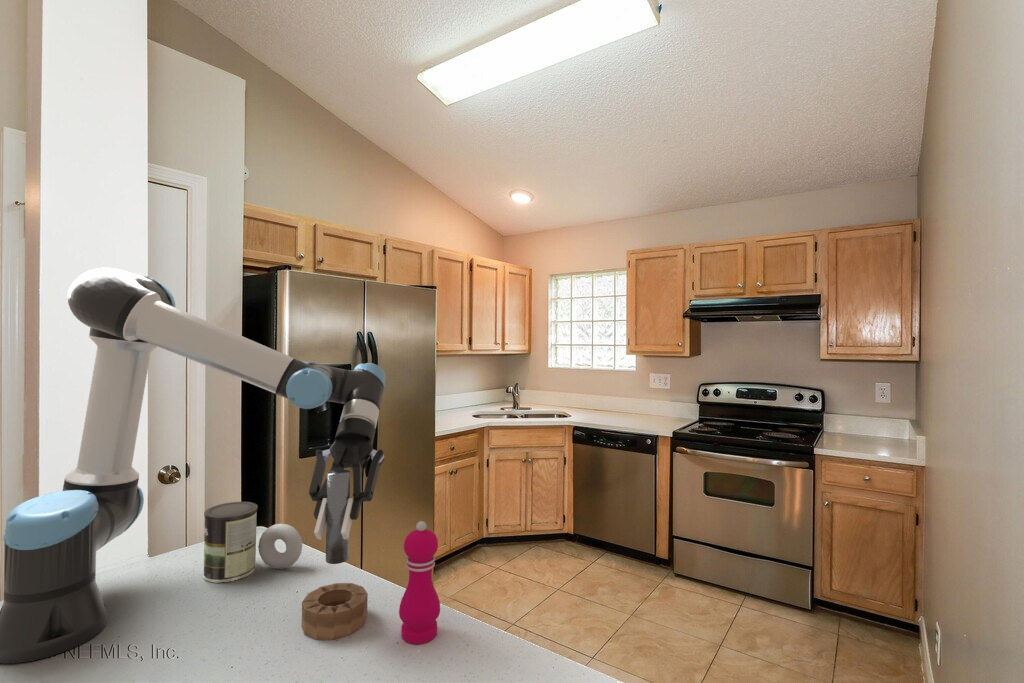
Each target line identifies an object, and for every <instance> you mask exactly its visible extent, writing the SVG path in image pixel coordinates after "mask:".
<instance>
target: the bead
mask: <svg viewBox="0 0 1024 683" xmlns="http://www.w3.org/2000/svg"><path fill="white" fill-rule="evenodd" d="M368 597H369V596H368V592H367V590H366V589H365V587H364V586H362V585H359V584H355V583H353V582H334V583H332V584H326V585H321V586H319V587H318V588H316V589H314V590H312V591H310V592H308V593H307V594H306V596H305V597H304V598H303V599H302V601H301V629H302V632H303V634H304V636H307V637H308V638H311V639H313V640H316V641H317V640H318V641H319V640H321V641H323V640H333V641H334V640H337V639H341V638H345V637H347V636H351V635H353V634H354V633H355V632H357V631H359V630H360V629H362V628H363V627H364V626H365V623H366V622H367V621H366V620H367V619H368Z"/></svg>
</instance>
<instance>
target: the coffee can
mask: <svg viewBox="0 0 1024 683" xmlns="http://www.w3.org/2000/svg"><path fill="white" fill-rule="evenodd" d="M258 508H259V506H258V504H256V503H254V502H251V501H232V502H225V503H221V504H217V505H214V506H211V507H209V508H207V509H206V510H205V511H204V513H203V514H204V535H203V536H204V538H203V539H204V544H203V575H202V577H203V578H202V579H203V580H204V581H206V582H208V583H212V582H213V583H212V584H222V582H225V583H230V582H229V581H231V582H235V581H234V580H236V581H239V580H242V579H245V578H247V577H248V576H250V575H251V574H253V573H254V572H255V570H256V567H257V565H256V554H257V552H256V551H257V550H256V548H257V512H258ZM241 578H242V579H241ZM238 579H239V580H238Z"/></svg>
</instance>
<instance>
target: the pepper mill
mask: <svg viewBox="0 0 1024 683" xmlns="http://www.w3.org/2000/svg"><path fill="white" fill-rule="evenodd" d="M438 548H439V540H438V537H437V535H436V534H435V532H434V531H432V530H430V529H428V528H427V523H426V522H425V521H423V520H420V521H419V522H417V523H416V528H415V529H414V530H412V531H410V532H409V533H408V534H407V535H406V536H405V539H404V542H403V550H404V553H405V555H406V556H407V558H406V560H405V561H406V564H405V567H406V569H407V570H408V573H409V575H408V583H407V586H406V588H405V590H404V593H403V596H402V597H401V598H400V599H401V600H400V603H399V609H398V616H399V619H400V620H401V621H402V624H401V627H400V628H401V632H400V633H401V638H402V640H403V641H404V642H406V643H408V644H411V645H422V644H426V643H428V642H431V641H432V640H434V639H435V638H436V636H437V634H438V621H437V619H438V618H439V615H440V613H441V602H440V597H439V595H438V593H437V591H436V589H435V587H434V583H433V576H432V573H433V568H434V567H435V565H436V562H435V561H436V557H435V554H436V553H437V551H438Z"/></svg>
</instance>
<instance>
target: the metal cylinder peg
mask: <svg viewBox="0 0 1024 683" xmlns="http://www.w3.org/2000/svg"><path fill="white" fill-rule="evenodd" d="M326 478H327V510H326V524H325V562H326V563H327V564H329V565H339V564H343V563H345V562H347V561H349V559H350V558H349V556H350V554H349V553H350V550H349V548H350V536H349V537H348V539H343V537H342V534H341V529H342V525H343V521H344V516H345V512H346V507H347V503H348V499H349V498H350V495H351V494H350V493H351V492H350V491H351V490H350V488H351V471H350V470H348V469H344V470H333V471H330V470H329V471H328V472H326Z"/></svg>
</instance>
